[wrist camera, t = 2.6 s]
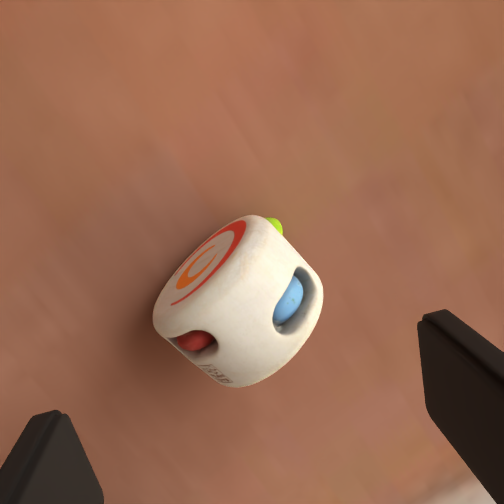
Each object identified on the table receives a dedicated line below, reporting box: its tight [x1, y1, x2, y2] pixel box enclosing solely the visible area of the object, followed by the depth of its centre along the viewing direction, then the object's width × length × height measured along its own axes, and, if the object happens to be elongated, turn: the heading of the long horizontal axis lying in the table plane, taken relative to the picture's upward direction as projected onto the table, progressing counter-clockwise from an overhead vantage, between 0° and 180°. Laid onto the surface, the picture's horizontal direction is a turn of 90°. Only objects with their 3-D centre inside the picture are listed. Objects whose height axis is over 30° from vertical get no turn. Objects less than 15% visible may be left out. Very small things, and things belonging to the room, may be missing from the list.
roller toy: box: [153, 215, 323, 387], centre depth 16 cm, size 4×6×6 cm
